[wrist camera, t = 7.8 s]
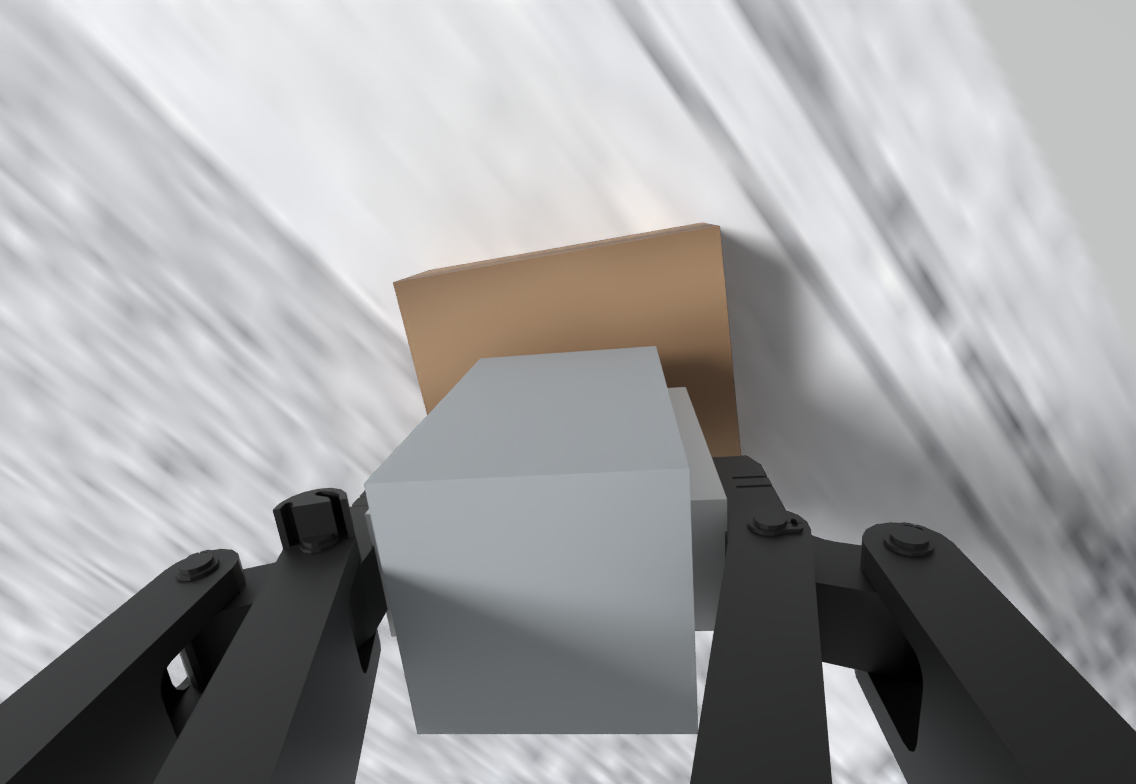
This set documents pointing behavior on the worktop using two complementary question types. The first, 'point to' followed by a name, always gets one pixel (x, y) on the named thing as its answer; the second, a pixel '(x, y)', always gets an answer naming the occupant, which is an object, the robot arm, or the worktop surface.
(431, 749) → the worktop surface
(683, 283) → the walnut block
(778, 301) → the worktop surface
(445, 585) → the slate block
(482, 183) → the worktop surface
